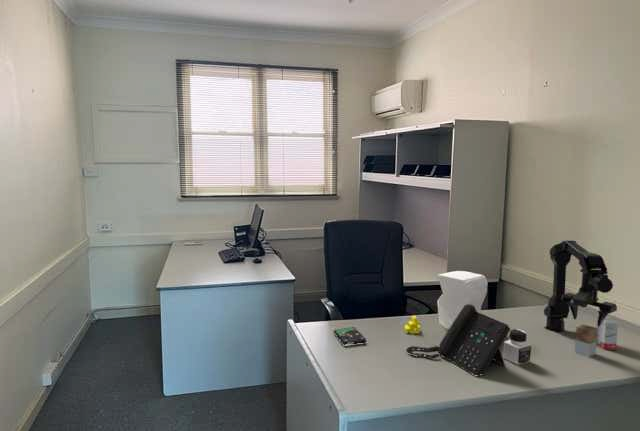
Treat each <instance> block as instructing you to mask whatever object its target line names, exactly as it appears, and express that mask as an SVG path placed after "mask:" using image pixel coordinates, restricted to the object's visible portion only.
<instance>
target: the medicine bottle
mask: <svg viewBox="0 0 640 431" xmlns="http://www.w3.org/2000/svg"><path fill="white" fill-rule="evenodd" d="M531 352H532V345H531V344H530V343H528V342H527V332H526V331H524V330H522V329H519V328H517V329H516V328H515V329H510V331H509V339H508V340H505V341H503V356H502V358H503V359H504V358H505V360H506V359H507V360H506V361H508V360H509V361H508V362H510V361H511V362H510V363H512V362H513V364H514V363H515V365H516V364H517V365H516V366H521V365H524V364H527V363H530V362H531V355H532V354H531ZM523 363H524V364H523ZM520 364H521V365H520Z"/></svg>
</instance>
